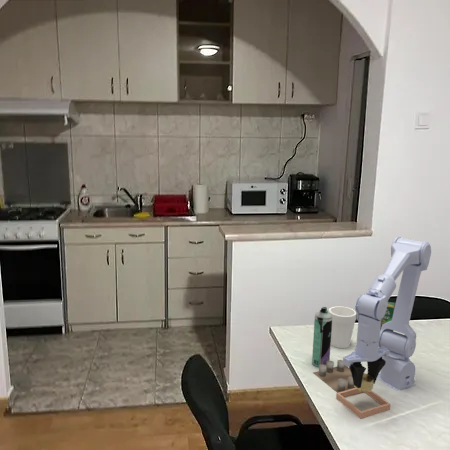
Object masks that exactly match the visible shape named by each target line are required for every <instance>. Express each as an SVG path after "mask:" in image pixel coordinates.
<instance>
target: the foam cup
mask: <svg viewBox="0 0 450 450" xmlns="http://www.w3.org/2000/svg"><path fill="white" fill-rule="evenodd" d="M327 311H328V313H330V314H332V332H331V346H332V347H334V348H337V349H347V348H349V347H350V346H351V341H352V336H353V331H354V328H355V325H356V323H355V322H356V321H357V314H356V311H355V309H353V308H352V307H348V306H340V305H338V306H335V305H334V306H332V307H329V308H328V310H327Z"/></svg>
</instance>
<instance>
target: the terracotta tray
mask: <svg viewBox="0 0 450 450" xmlns="http://www.w3.org/2000/svg"><path fill="white" fill-rule="evenodd" d="M335 393H336V395H335V396H336V397H335V399H336V400H338V401H339V403H341V404H342V405H343V406H345V407H346V408H347V410H348V409H349V411H350V412H352V413H353V414H354V415H355V416H356V417H358V418H359V419H364V418H367V417H370V416H373V415H374V416H375V415H377V414H381V413H383V412H386V411H389V410H391V403H390V402H388V401H387V400H386V399H384V398H383V397H381V396H380V395H379V394H378V393H376V392H375V391H373V389H372V390H371V392H364V393H365V394H366V395H367V396H369V397H370V398H372V399H373V400H374V401H375V402H377V403H378V404H380V405H378V406H375V407H372V408H368V409H364V410H362V411H361V410H360V409H359V408H358V407H356V405H354V404H353V403H351V402H350V401H349V400H348V399H347V397H351V396H355V395H357V394H361V393H363V392H361V391H359V390H358V389H357V388H353V389H349V390H346V391H342V392H339V393H337V392H335Z"/></svg>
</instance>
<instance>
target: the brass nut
mask: <svg viewBox="0 0 450 450" xmlns="http://www.w3.org/2000/svg"><path fill="white" fill-rule="evenodd" d="M373 383H374V378H373V377H372V376H370V375H369V374H368V373H365V372H364V374H363V377H362V384H361V387H360V388H357V387H356V386H355V385H354V387H355V388H357V389H358V390H359V391H361V392H362V393H365V392H371V390H372V391H373V389H374V384H373Z"/></svg>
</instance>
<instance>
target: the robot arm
mask: <svg viewBox="0 0 450 450" xmlns="http://www.w3.org/2000/svg"><path fill="white" fill-rule="evenodd" d="M431 255H432V247H431V244H430V243H429V242H428V241H421V240H416V239H411V238H410V239H409V238H406V237H405V238H404V237H401V236H396V237H395V238H394V239H393V240H392V242H391V245H390V259H389V261H388V264H387V265H386V267H385V269H384V271H383V274H378V275H377V276H376V277H375V278H374V280H373V282H372V283H371V285H370V286H369V288H368V289H367V291H366V293H364V294H360V295H359V296H358V298H357V299H356V303H355V306H354V310H355V311H356V321H358V322H357V335H356V336H357V337H356V347H354V350H353V352H350V353H349V354H347V355H346V356H343V357H342V360H343V364H344V365H346V366H347V367H349V368H350V371H351V374H352V378H353V383H354V385H355V386H356V387H357V388H360V387H361V384H362V377H363V374H364V373H365V371H366V369H367V374H369V375H370V376H372V377H373V378H374V383H373V385H374V384H376V381H377V380H379V381H381V382H383V383H384V384H385V385H387V386H388V387H390V388H391V389H393V390H394V391H396V392H397V391H401V390H404V389H408V388H412V387H415V386H416V383H415V378H416V377H415V376H416V369H417V368H416V365H415V363H414V362H413V361H411V359H410V358H411V357H412V356H413V354H414V353H415V350H416V345H417V343H416V342H417V332H416V331H415V330H414V328H412V327H411V325H410V320H411V316H412V315H411V314H412V312H413V307H414V302H415V298H416V295H417V291H418V286H419V282H420V277H421V274H422V272H423V271H427V270H428V267H429V266H430V265H429V264H430V260H431ZM401 273H402V274H401ZM400 275H401V278H400V283H399V286H398V287H399V288H398V291H397V296H396V301H395V308H394V313H393V317H392V321H389V322H387V323H384V324H383V325H382V328H381V331H380V327H381V319H382V318H383V317H384V315H385V313H386V309H387V306H388V302H389V299H390V298H391V296H392V294H393V293H394V292H395V289H396V288H397V282H396V280H397V279H398V277H400ZM391 330H393V331H391ZM364 362H365V363H367V368H366V367H365V366H363V363H364Z"/></svg>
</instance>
